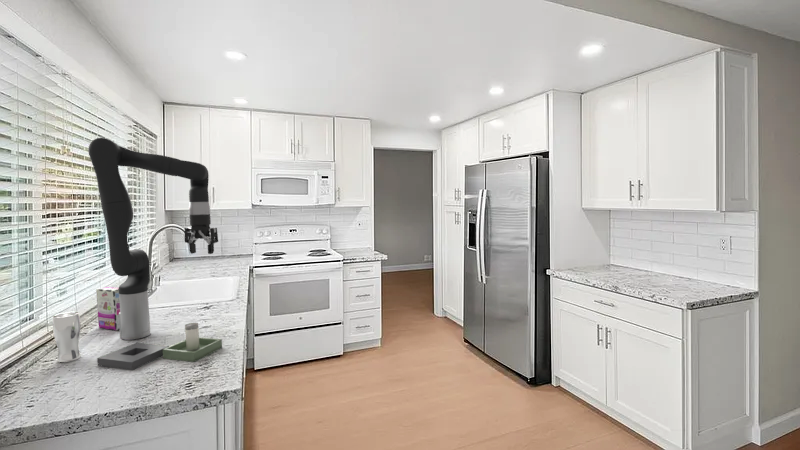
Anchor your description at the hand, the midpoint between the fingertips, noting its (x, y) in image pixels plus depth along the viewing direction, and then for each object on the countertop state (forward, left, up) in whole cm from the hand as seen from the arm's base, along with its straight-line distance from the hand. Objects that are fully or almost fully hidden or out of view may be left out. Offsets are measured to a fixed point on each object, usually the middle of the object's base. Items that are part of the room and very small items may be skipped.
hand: (202, 253), depth 164 cm
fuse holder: (+2, -34, -30) cm, 45 cm away
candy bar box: (-37, -10, -30) cm, 49 cm away
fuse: (+17, -25, -29) cm, 42 cm away
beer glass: (-20, -39, -30) cm, 53 cm away
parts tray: (+17, -25, -30) cm, 43 cm away
